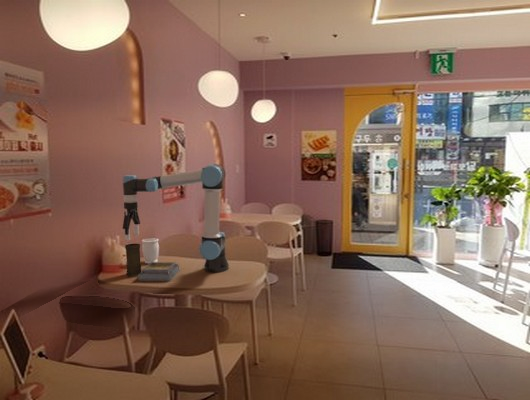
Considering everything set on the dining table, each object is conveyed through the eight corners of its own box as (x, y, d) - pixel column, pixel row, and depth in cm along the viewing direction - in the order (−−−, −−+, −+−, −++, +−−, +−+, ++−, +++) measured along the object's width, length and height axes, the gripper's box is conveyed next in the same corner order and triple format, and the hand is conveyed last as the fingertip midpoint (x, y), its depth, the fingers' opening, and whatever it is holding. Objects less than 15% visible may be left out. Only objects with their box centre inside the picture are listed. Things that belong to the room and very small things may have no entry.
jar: (150, 265, 263) (149, 242, 261) (139, 262, 268) (138, 240, 266) (162, 261, 271) (161, 239, 270) (152, 258, 277) (151, 237, 275)
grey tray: (179, 270, 250) (179, 261, 249) (169, 281, 230) (169, 271, 229) (150, 270, 251) (150, 261, 250) (138, 281, 231) (138, 270, 230)
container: (137, 277, 238) (136, 247, 236) (123, 276, 240) (121, 246, 237) (145, 272, 247) (143, 243, 244) (131, 271, 248) (129, 242, 246)
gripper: (132, 199, 250) (133, 233, 253) (115, 204, 226) (117, 242, 228) (144, 199, 250) (145, 233, 253) (128, 204, 225) (130, 242, 228)
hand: (132, 237), depth 240 cm, fingers open, 13 cm apart
